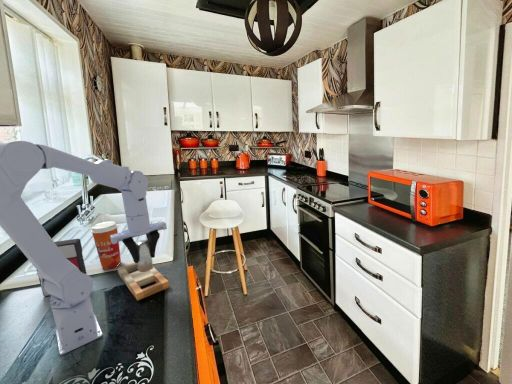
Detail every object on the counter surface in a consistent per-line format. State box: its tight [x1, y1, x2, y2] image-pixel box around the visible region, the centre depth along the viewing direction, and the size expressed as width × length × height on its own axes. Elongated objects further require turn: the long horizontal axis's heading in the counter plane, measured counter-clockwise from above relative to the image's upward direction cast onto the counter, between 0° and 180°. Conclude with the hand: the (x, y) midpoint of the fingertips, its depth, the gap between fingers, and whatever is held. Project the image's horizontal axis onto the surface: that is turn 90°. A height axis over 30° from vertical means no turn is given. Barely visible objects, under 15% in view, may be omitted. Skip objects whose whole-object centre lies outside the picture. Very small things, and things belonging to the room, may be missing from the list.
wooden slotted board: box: [116, 262, 170, 302], centre depth 83 cm, size 20×9×2 cm, turn 40°
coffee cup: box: [90, 220, 122, 270], centre depth 93 cm, size 8×8×15 cm
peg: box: [135, 239, 154, 272], centre depth 77 cm, size 4×4×8 cm
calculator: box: [36, 238, 88, 297], centre depth 78 cm, size 11×4×15 cm, turn 105°
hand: (144, 259), depth 77 cm, fingers closed on peg, 4 cm apart
